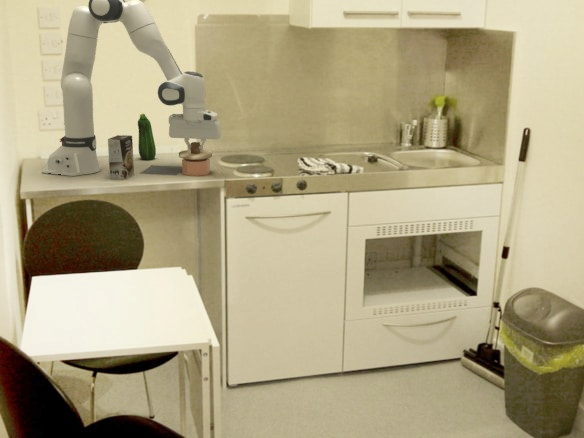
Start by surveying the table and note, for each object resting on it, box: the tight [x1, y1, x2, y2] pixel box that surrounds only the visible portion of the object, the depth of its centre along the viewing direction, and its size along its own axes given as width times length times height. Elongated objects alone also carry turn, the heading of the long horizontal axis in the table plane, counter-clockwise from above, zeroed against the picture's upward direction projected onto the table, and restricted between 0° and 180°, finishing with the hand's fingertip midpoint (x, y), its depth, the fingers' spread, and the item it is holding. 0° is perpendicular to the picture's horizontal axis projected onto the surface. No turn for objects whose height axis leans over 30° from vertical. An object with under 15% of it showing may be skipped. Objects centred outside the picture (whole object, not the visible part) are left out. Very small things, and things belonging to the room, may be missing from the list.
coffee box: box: [107, 134, 135, 181], centre depth 286 cm, size 9×6×16 cm
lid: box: [178, 141, 213, 160], centre depth 293 cm, size 13×13×5 cm
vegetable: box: [137, 113, 157, 161], centre depth 317 cm, size 7×7×20 cm
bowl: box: [181, 158, 211, 177], centre depth 295 cm, size 10×10×6 cm
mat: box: [139, 164, 182, 176], centre depth 300 cm, size 15×15×1 cm
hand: (195, 149), depth 293 cm, fingers closed on lid, 3 cm apart
